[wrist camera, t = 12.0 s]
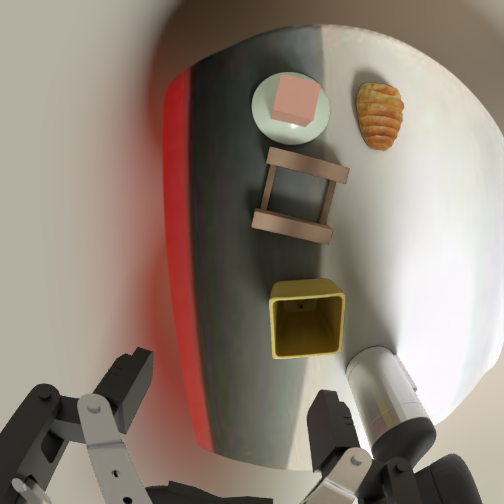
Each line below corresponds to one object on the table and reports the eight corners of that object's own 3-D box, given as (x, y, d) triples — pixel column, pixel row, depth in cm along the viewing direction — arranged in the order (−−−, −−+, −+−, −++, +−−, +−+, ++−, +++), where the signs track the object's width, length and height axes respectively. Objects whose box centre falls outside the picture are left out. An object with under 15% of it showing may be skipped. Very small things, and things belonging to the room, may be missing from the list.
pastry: (395, 154, 34) (407, 154, 31) (352, 146, 35) (361, 144, 31) (397, 93, 32) (408, 87, 28) (354, 83, 32) (362, 75, 28)
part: (311, 96, 32) (321, 84, 26) (304, 127, 33) (313, 119, 27) (278, 88, 31) (281, 73, 26) (270, 118, 33) (272, 109, 27)
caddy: (342, 168, 35) (349, 168, 32) (323, 239, 38) (329, 245, 35) (269, 148, 35) (270, 146, 32) (252, 222, 38) (251, 227, 35)
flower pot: (270, 323, 42) (272, 360, 34) (267, 270, 40) (268, 298, 31) (327, 318, 42) (341, 353, 33) (329, 265, 39) (346, 292, 31)
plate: (334, 85, 32) (336, 84, 31) (319, 153, 35) (321, 153, 34) (261, 67, 31) (261, 64, 31) (244, 135, 34) (243, 134, 33)
